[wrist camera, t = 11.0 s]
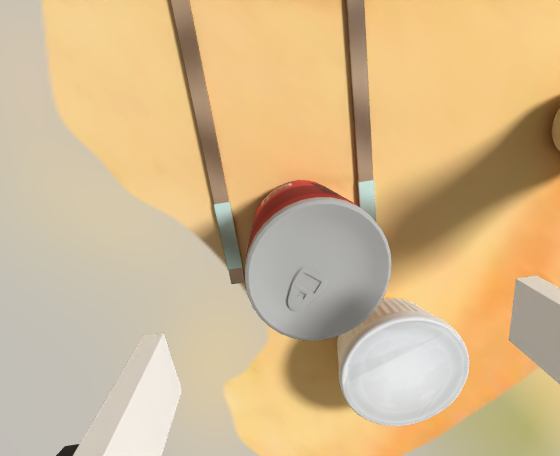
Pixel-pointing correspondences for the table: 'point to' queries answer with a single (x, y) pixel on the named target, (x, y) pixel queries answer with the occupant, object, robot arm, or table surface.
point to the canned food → (315, 262)
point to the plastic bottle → (556, 130)
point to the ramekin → (401, 364)
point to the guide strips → (209, 136)
